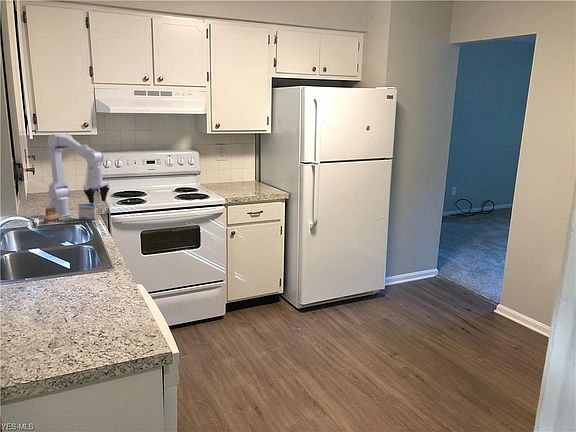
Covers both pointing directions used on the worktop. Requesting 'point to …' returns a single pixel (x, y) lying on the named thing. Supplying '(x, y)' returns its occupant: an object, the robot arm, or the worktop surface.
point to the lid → (50, 214)
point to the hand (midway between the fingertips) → (97, 202)
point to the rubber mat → (69, 219)
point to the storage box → (51, 220)
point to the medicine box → (87, 211)
